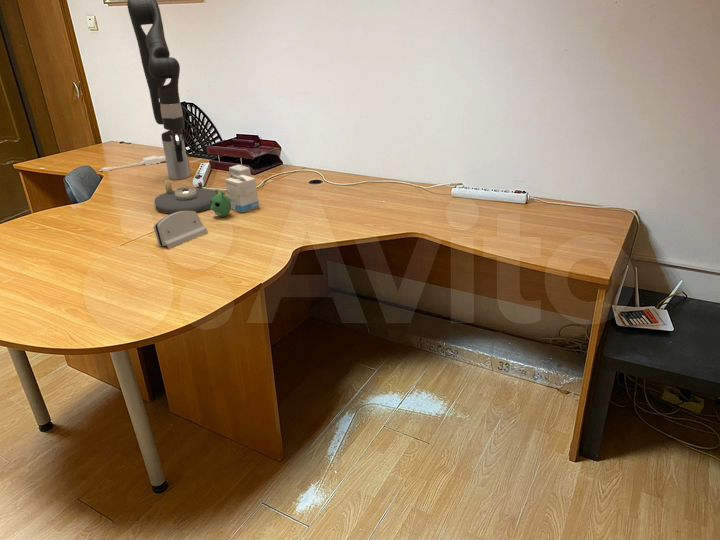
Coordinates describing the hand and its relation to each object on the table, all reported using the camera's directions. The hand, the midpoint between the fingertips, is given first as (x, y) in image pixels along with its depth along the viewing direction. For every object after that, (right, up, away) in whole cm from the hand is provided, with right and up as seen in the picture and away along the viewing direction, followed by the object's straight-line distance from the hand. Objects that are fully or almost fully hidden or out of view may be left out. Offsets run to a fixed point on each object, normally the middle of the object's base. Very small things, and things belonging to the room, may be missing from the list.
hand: (180, 161), depth 196 cm
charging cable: (-43, +9, +58) cm, 73 cm away
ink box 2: (+25, -19, -1) cm, 31 cm away
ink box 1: (+21, -12, +13) cm, 27 cm away
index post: (+3, -10, +16) cm, 19 cm away
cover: (+2, -14, +1) cm, 14 cm away
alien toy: (+19, -23, -10) cm, 31 cm away
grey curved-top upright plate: (+11, -32, -28) cm, 44 cm away
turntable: (+2, -16, +3) cm, 17 cm away
